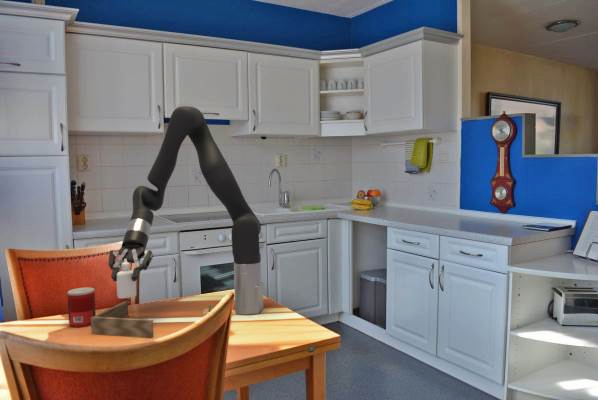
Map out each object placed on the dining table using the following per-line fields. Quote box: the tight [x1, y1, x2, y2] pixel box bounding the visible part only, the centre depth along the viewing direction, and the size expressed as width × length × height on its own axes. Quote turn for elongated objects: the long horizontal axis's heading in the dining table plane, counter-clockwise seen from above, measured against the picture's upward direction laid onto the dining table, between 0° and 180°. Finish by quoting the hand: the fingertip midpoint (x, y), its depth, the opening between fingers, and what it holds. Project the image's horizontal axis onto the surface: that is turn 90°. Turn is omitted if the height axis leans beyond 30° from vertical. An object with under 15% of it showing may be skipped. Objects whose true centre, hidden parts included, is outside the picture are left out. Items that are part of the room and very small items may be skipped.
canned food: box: [67, 286, 97, 328], centre depth 155 cm, size 8×8×11 cm
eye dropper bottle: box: [115, 259, 137, 299], centre depth 150 cm, size 4×6×12 cm
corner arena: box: [90, 300, 154, 339], centre depth 152 cm, size 20×18×5 cm
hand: (123, 279), depth 148 cm, fingers closed on eye dropper bottle, 5 cm apart
